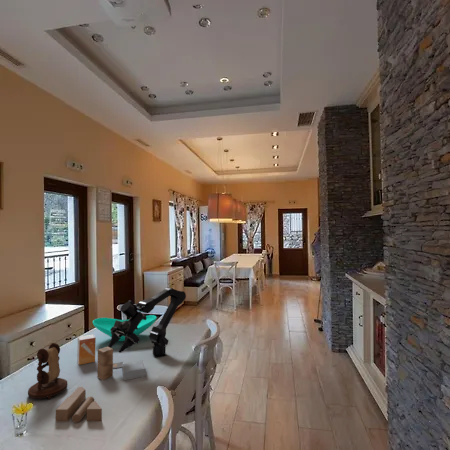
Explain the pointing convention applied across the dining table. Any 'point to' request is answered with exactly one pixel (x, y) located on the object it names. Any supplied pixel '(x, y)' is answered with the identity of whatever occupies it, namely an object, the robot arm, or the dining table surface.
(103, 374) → the walnut column
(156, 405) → the dining table surface
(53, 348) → the scroll
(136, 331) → the table top decor
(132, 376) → the slate block
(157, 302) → the robot arm
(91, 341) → the small box
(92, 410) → the wooden block set
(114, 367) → the card
